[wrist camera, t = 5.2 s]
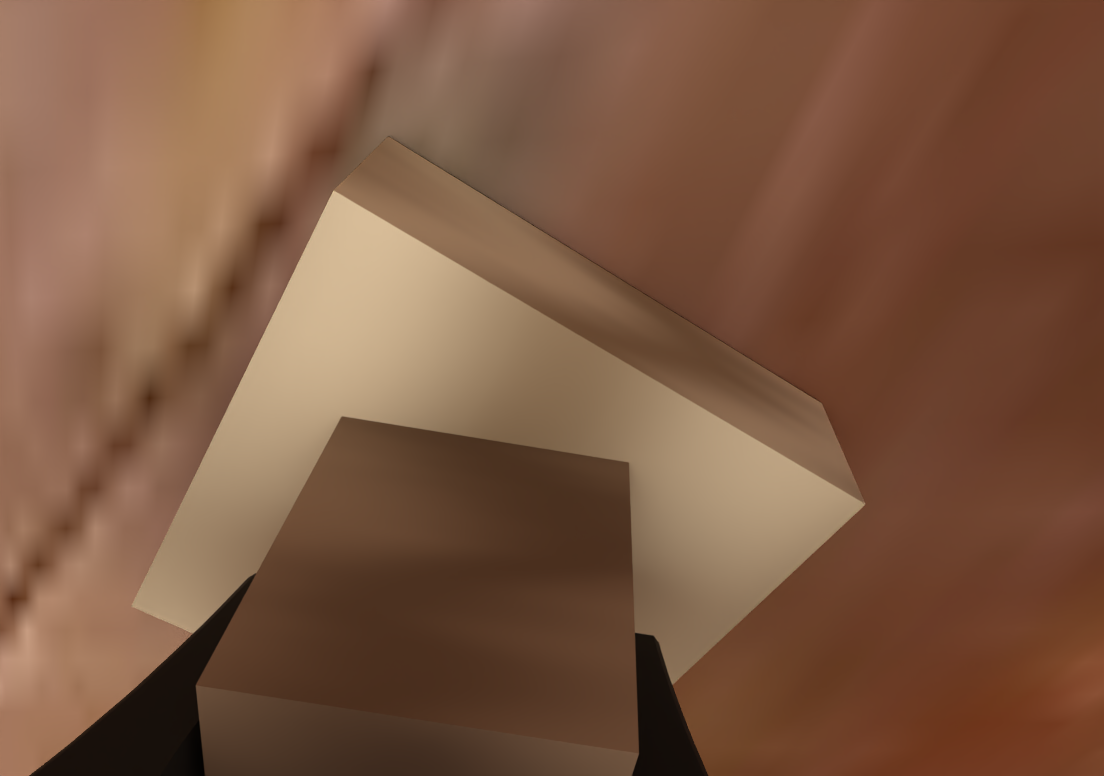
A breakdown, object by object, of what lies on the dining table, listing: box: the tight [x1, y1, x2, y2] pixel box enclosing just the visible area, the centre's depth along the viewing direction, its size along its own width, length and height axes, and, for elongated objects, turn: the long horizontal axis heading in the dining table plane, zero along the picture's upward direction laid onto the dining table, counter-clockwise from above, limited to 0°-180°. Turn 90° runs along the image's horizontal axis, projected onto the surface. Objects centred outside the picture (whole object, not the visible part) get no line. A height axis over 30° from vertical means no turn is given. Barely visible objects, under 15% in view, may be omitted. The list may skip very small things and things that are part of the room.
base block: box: [132, 137, 865, 685], centre depth 15 cm, size 9×9×3 cm
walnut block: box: [196, 416, 639, 776], centre depth 11 cm, size 4×4×5 cm
